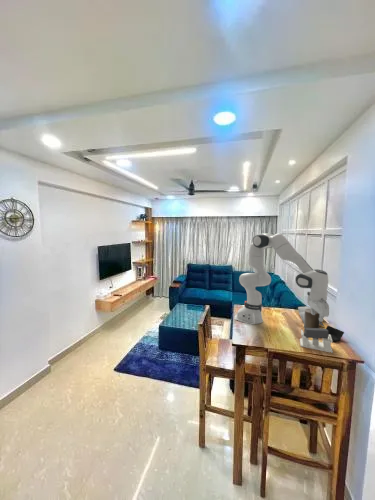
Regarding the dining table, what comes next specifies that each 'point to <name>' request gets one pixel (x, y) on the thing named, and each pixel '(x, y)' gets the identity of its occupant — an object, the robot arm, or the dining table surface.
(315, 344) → the display stand
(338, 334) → the handheld gaming console
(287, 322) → the dining table surface
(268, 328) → the dining table surface
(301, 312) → the sculpture
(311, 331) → the tall charcoal prism
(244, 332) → the dining table surface
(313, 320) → the pillar candle
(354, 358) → the dining table surface
